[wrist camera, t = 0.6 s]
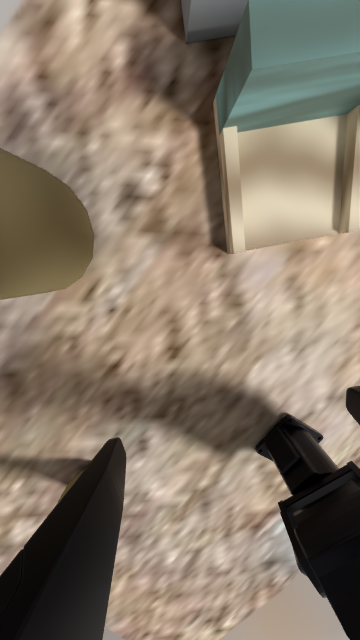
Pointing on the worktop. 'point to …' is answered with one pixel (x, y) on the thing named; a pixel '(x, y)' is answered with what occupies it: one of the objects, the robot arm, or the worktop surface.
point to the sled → (290, 123)
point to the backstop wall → (211, 18)
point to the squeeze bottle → (39, 231)
